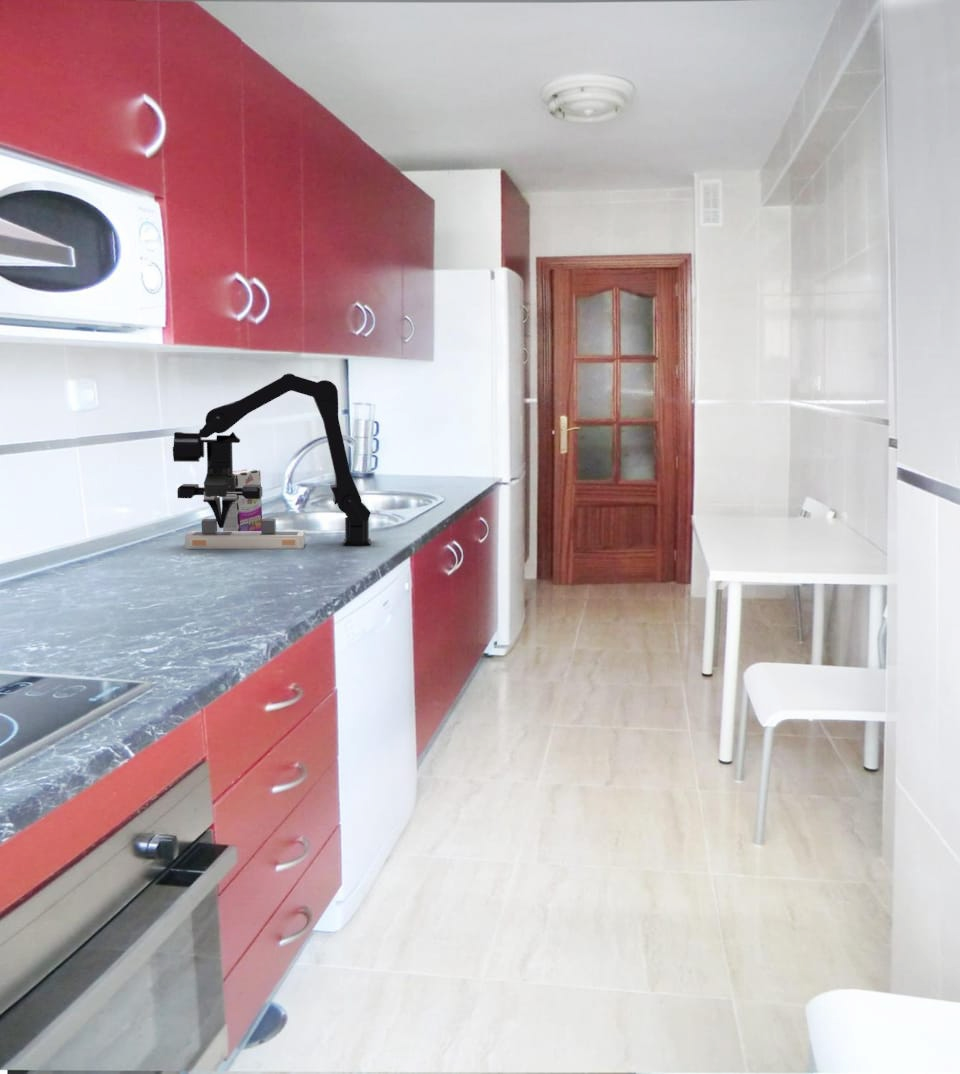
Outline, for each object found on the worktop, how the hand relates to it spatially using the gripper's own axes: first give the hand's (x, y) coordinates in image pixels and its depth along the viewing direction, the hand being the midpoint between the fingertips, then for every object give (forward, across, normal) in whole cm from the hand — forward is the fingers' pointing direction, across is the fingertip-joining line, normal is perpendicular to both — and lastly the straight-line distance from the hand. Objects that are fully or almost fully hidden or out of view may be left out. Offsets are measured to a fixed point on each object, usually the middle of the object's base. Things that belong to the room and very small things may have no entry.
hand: (221, 527), depth 219 cm
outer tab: (+1, -3, 0) cm, 3 cm away
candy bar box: (+5, +3, +16) cm, 16 cm away
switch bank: (+4, +6, 0) cm, 7 cm away
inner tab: (+1, +11, 0) cm, 11 cm away
